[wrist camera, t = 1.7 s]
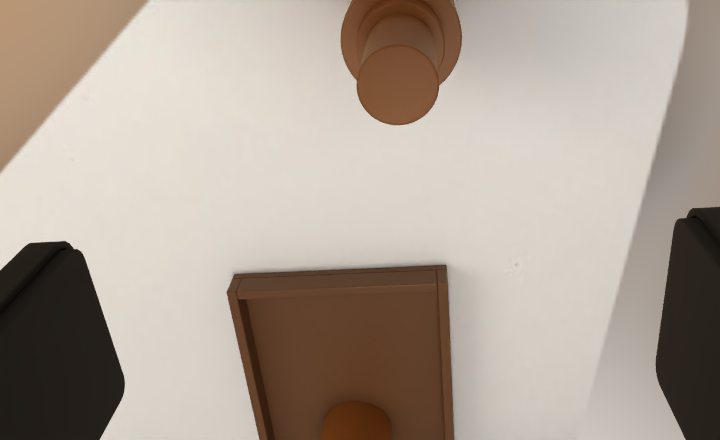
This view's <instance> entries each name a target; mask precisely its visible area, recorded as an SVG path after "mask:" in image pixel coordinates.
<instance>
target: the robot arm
mask: <svg viewBox="0 0 720 440" xmlns="http://www.w3.org/2000/svg"><path fill="white" fill-rule="evenodd" d="M656 373H657V378H658V382H659V384H660V387H661V389H662V391H663V393H664V395H665V397H666V399H667V401H668V404H669V406H670V408H671V410H672V412H673V414H674V416H675V418H676V420H677V422H678V424H679V426H680V428H681V431H682V433H683V435H684V437H685V439H686V440H720V207H711V208H692V209H691V210H690V211H689V213H688V215H687V218H681V219H678V220H677V221H676V223H675V226H674V231H673V239H672V246H671V253H670V261H669V268H668V275H667V282H666V290H665V297H664V304H663V311H662V319H661V326H660V333H659V341H658V349H657V355H656ZM124 387H125V381H124V375H123V372H122V369H121V366H120V363H119V360H118V357H117V354H116V351H115V348H114V345H113V342H112V339H111V336H110V333H109V330H108V327H107V324H106V321H105V318H104V315H103V312H102V309H101V306H100V303H99V300H98V297H97V294H96V291H95V288H94V285H93V282H92V279H91V276H90V273H89V270H88V267H87V264H86V261H85V258H84V256H83V254H82V253H81V251H79V250H77V249H73V247H72V246H71V245H70V244H69V243H68V242H66V241H60V242H41V243H29V244H28V245H26V246H25V247H24V248H23V249H22V250H21V251H20V252H19V253H18V254H17V255H16V256H15V257H14V258H13V259H12V260H11V261H10V262H9V263H8V264H7V265H6V266H4V267H3V268H2V269H1V270H0V440H100V438H101V436H102V434H103V432H104V431H105V429H106V427H107V425H108V423H109V421H110V420H111V418H112V416H113V414H114V412H115V410H116V409H117V407H118V405H119V403H120V401H121V399H122V397H123V394H124Z"/></svg>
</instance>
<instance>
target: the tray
mask: <svg viewBox="0 0 720 440" xmlns="http://www.w3.org/2000/svg"><path fill="white" fill-rule="evenodd" d="M227 296H228V301H229V305H230V309H231V314H232V318H233V323H234V327H235V332H236V336H237V341H238V345H239V350H240V354H241V359H242V363H243V368H244V372H245V377H246V381H247V386H248V390H249V395H250V399H251V404H252V408H253V413H254V417H255V421H256V426H257V430H258V435H259V439H260V440H321V433H322V427H323V421H324V418H325V416H326V415H327V413H328V412H329V411H330V410H331V409H332V408H334V407H335V406H337V405H340V404H342V403H346V402H364V403H368V404H371V405H374V406H376V407H377V408H379V409H380V410H382V411H383V412H384V413H385V414H386V415H387V417H388V418H389V420H390V422H391V426H392V440H454V426H453V401H452V376H451V352H450V327H449V302H448V281H447V269H446V265H443V266H420V267H398V268H375V269H352V270H329V271H306V272H283V273H260V274H237V275H234V277H233V279H232V281H231V284H230V286H229V288H228V290H227Z"/></svg>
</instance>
